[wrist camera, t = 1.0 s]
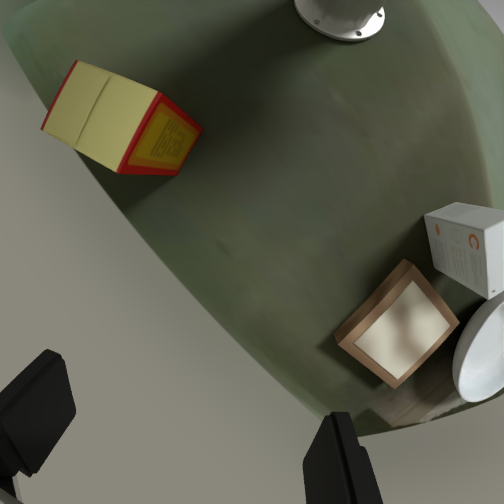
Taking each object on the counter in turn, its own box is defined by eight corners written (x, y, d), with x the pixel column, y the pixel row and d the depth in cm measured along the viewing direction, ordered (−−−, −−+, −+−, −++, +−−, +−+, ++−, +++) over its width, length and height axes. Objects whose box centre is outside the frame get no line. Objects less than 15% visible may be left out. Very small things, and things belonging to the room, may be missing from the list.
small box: (464, 253, 35) (521, 279, 23) (432, 268, 36) (488, 302, 23) (455, 200, 34) (518, 212, 21) (422, 213, 34) (483, 231, 22)
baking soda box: (203, 128, 33) (160, 91, 17) (176, 175, 34) (116, 174, 19) (141, 99, 32) (73, 58, 17) (117, 143, 34) (37, 128, 18)
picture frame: (403, 258, 36) (414, 264, 33) (450, 314, 38) (460, 323, 35) (332, 333, 39) (338, 345, 36) (388, 378, 40) (395, 389, 37)
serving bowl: (441, 399, 42) (456, 421, 35) (433, 314, 38) (456, 334, 31) (516, 346, 39) (534, 362, 33) (517, 258, 35) (543, 269, 29)
